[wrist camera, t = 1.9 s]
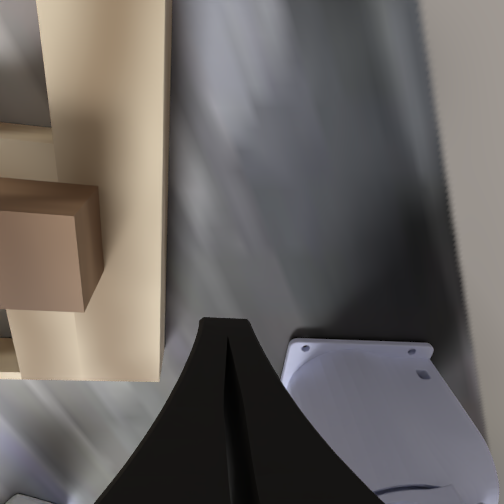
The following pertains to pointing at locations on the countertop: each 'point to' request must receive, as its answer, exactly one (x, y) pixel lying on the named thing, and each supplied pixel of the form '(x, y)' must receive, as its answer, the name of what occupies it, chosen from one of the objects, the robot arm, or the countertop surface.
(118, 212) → the trap board
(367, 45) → the countertop surface
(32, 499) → the skincare box
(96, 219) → the walnut block
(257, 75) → the countertop surface
